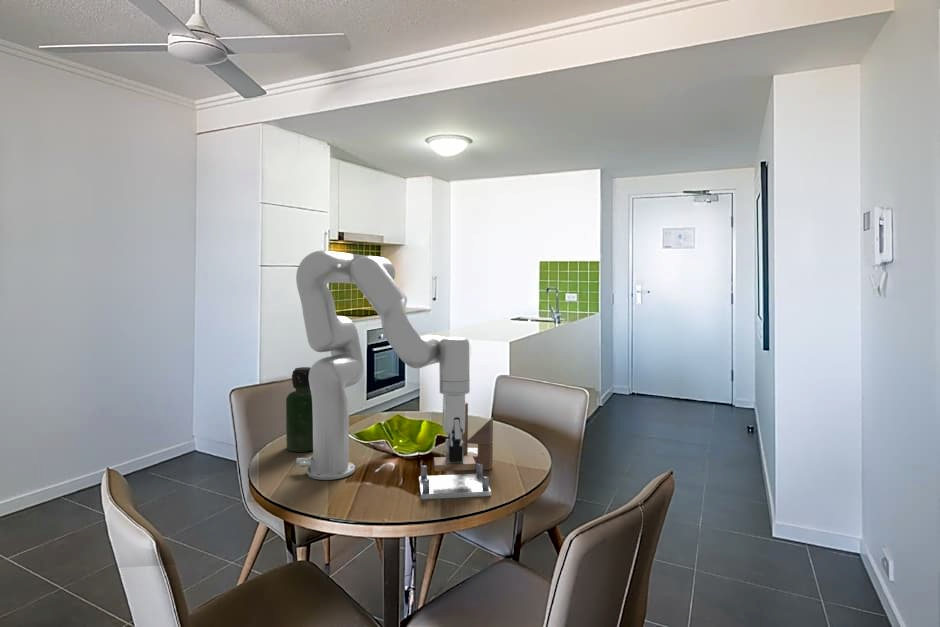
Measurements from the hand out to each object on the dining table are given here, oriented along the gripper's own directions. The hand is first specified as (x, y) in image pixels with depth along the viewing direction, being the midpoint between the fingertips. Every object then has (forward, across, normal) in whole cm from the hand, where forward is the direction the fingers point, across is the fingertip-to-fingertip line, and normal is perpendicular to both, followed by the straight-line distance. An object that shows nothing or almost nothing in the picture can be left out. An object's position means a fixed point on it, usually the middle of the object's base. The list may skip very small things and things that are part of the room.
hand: (454, 457), depth 133 cm
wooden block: (+8, -15, +7) cm, 18 cm away
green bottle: (+7, -38, -43) cm, 58 cm away
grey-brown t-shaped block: (+2, 0, 0) cm, 2 cm away
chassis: (+8, 0, 0) cm, 8 cm away
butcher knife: (+8, -23, +7) cm, 26 cm away
